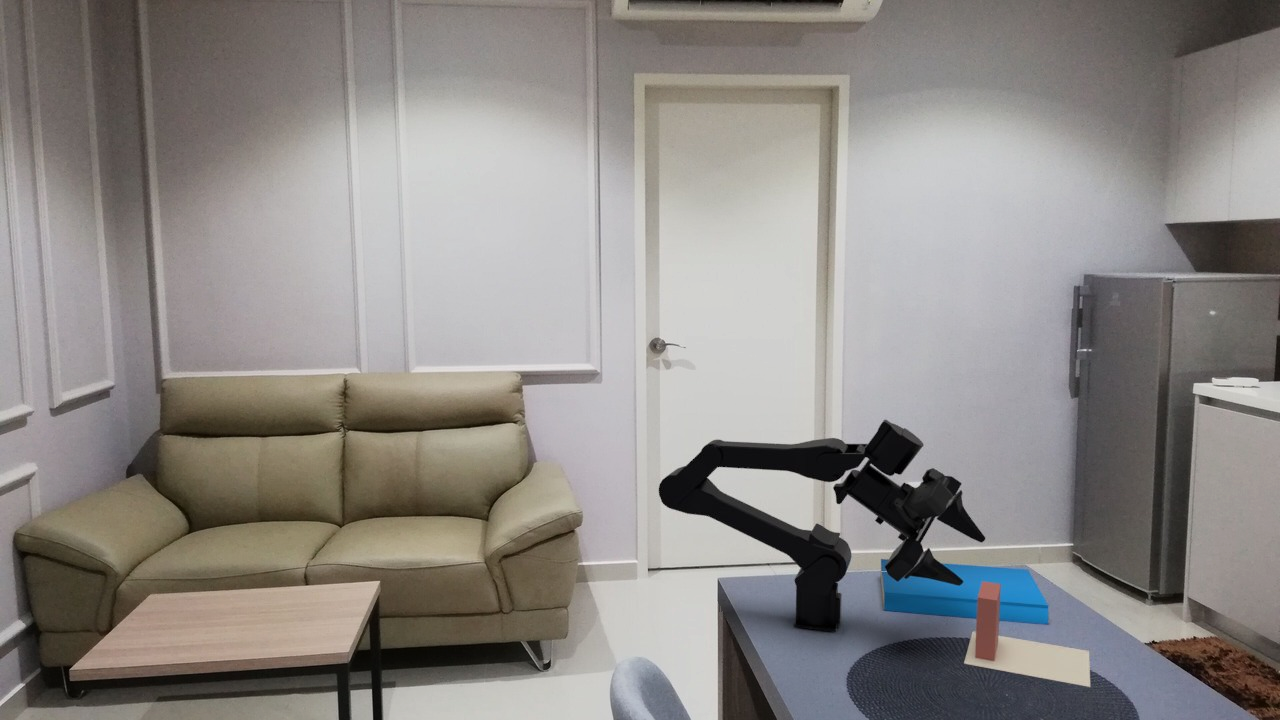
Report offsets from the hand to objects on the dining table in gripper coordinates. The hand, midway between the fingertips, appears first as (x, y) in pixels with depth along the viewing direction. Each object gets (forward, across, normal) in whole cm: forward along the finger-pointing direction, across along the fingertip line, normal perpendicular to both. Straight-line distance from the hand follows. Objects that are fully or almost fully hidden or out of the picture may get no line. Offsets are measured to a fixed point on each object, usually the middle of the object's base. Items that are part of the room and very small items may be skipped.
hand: (973, 561), depth 132 cm
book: (+6, +7, +20) cm, 22 cm away
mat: (+14, -6, +3) cm, 15 cm away
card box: (+9, -7, +6) cm, 13 cm away
